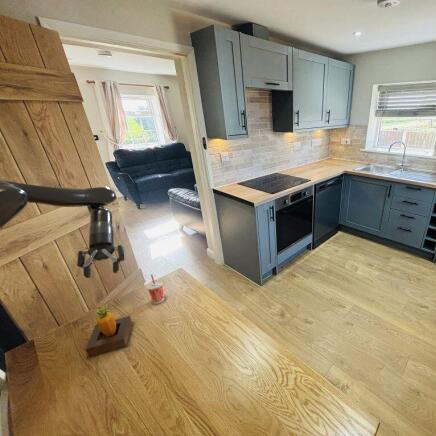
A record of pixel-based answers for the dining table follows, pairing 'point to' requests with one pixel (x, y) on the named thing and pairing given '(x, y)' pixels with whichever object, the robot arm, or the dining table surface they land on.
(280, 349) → the dining table surface
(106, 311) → the carrot
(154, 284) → the beverage cup
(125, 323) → the socket block
